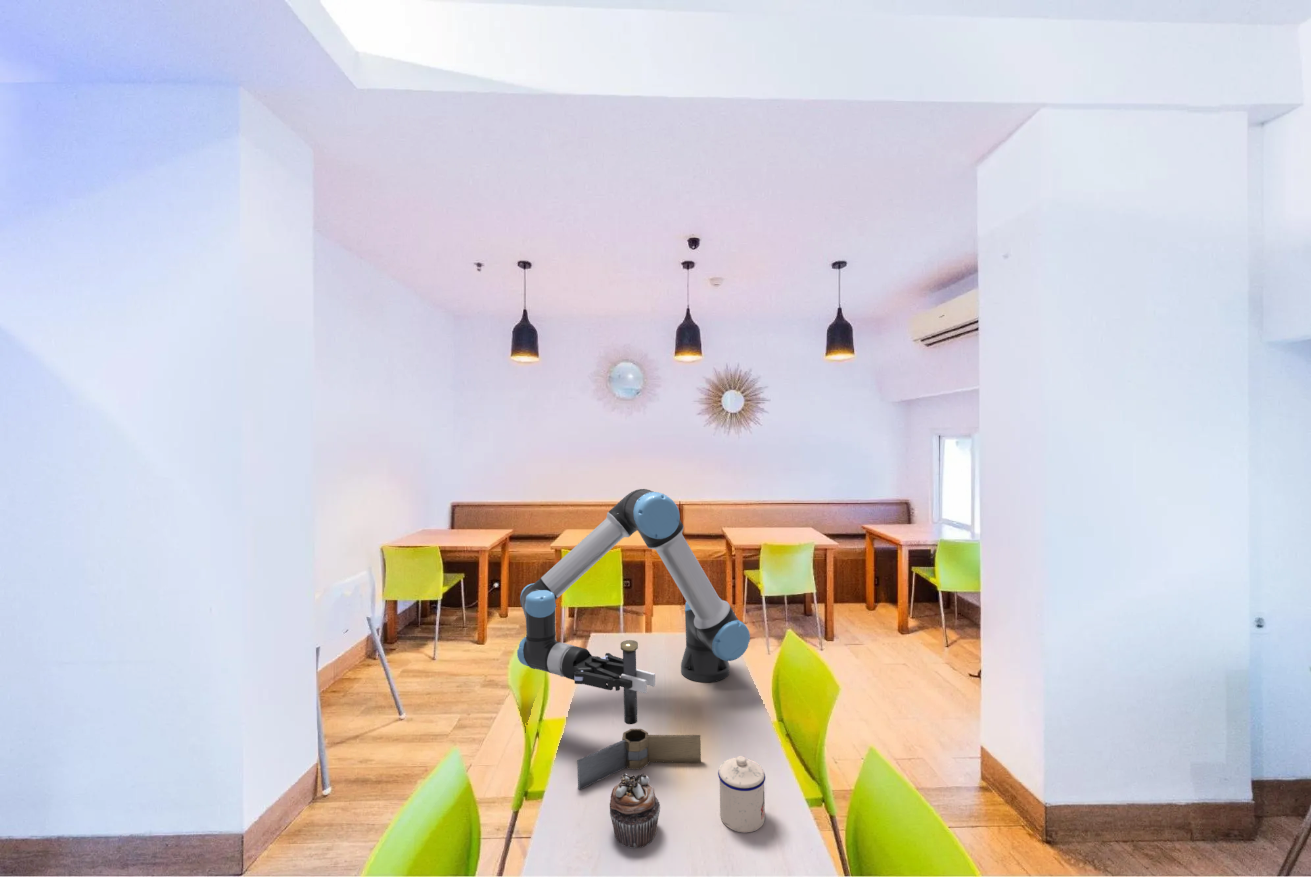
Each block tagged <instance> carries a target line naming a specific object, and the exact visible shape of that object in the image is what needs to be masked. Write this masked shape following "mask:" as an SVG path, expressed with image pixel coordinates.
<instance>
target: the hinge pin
mask: <svg viewBox="0 0 1311 877" xmlns="http://www.w3.org/2000/svg"><path fill="white" fill-rule="evenodd" d="M638 645H639V643H638V641H637V640H632V639H629V640H623V641H621V642H620V650H621V651H622V659H623V674H626V675H630V676H633V677H636V669H637V649H639V646H638ZM623 712H624V714H623V718H624V720H623V721H624V723H625V724H626V725H635V724H637V723H638V691H634V690H631V689H627V688H624V687H623Z"/></svg>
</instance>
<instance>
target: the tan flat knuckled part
mask: <svg viewBox="0 0 1311 877" xmlns="http://www.w3.org/2000/svg"><path fill="white" fill-rule="evenodd" d="M632 738H641V739H643V740H641V741H639V742H630V741H629V740H630V739H632ZM624 739H625V741H626V750H628V751H635V752H640V751H642V750H643V749H645V748H647V747H648V756H647V757H645V758H643V759H641V760H639V761H637V760H628V759H626V762H627V767H626V769H630V770H641V769H643V768H645V767H646V766H648V765H649V763H678V764H679V763H681V764H682V763H687V764H688V763H690V764H691V763H696V764H697V763H699V764H700V763H702V751H701V748H702V747H701V734H649V732H648V731H646V730H644V729H642V728H630V729H628V730H626V731H624V732H623V733H622V739H621V741H622V740H624Z"/></svg>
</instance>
